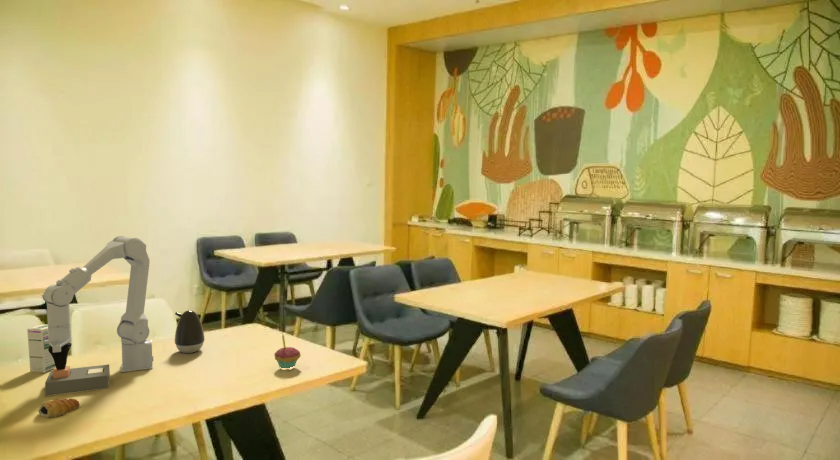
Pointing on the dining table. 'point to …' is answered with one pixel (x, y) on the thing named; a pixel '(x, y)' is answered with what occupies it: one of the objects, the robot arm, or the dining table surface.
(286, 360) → the cupcake
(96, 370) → the button
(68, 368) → the button
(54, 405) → the pastry
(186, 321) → the pump dispenser
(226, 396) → the dining table surface
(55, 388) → the block
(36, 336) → the syrup box
